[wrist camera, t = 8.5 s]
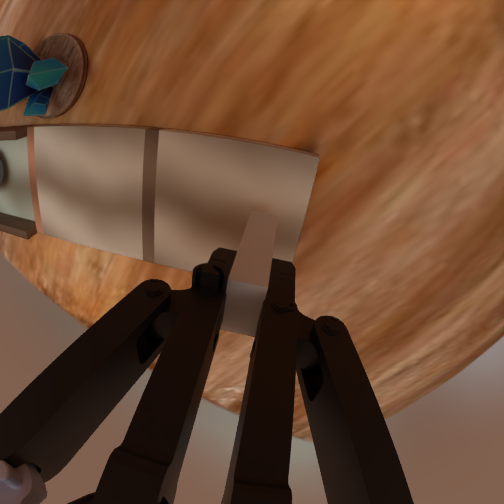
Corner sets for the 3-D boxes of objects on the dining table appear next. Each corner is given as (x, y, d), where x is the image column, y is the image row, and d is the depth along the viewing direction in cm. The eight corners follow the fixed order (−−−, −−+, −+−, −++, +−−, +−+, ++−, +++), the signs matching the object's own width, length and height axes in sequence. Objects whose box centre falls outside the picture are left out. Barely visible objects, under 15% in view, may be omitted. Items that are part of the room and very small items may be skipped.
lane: (-18, 129, 18) (-45, 139, 15) (318, 154, 17) (325, 169, 14) (-9, 213, 23) (-32, 229, 20) (284, 283, 22) (282, 319, 19)
